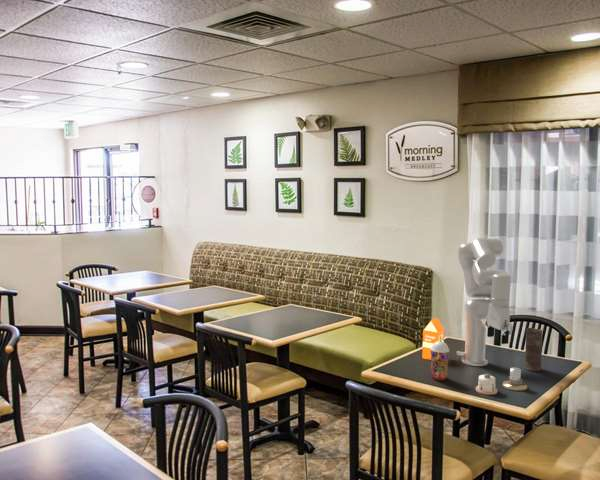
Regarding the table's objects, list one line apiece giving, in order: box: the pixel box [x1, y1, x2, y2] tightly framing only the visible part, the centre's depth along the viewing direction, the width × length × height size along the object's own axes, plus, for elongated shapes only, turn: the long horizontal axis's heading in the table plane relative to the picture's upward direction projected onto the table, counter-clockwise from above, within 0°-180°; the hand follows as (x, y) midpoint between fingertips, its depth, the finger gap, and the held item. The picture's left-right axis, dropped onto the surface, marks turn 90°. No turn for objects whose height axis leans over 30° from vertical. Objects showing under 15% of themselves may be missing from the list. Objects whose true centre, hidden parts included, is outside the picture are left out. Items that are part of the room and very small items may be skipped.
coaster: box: [475, 385, 499, 396], centre depth 239 cm, size 9×9×1 cm
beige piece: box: [502, 366, 528, 392], centre depth 244 cm, size 10×10×8 cm
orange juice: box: [421, 317, 445, 361], centre depth 283 cm, size 8×9×20 cm
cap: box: [477, 373, 497, 392], centre depth 239 cm, size 7×7×6 cm
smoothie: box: [430, 335, 451, 381], centre depth 252 cm, size 8×8×20 cm
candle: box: [524, 327, 543, 372], centre depth 266 cm, size 8×7×20 cm
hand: (497, 340), depth 243 cm, fingers open, 9 cm apart
